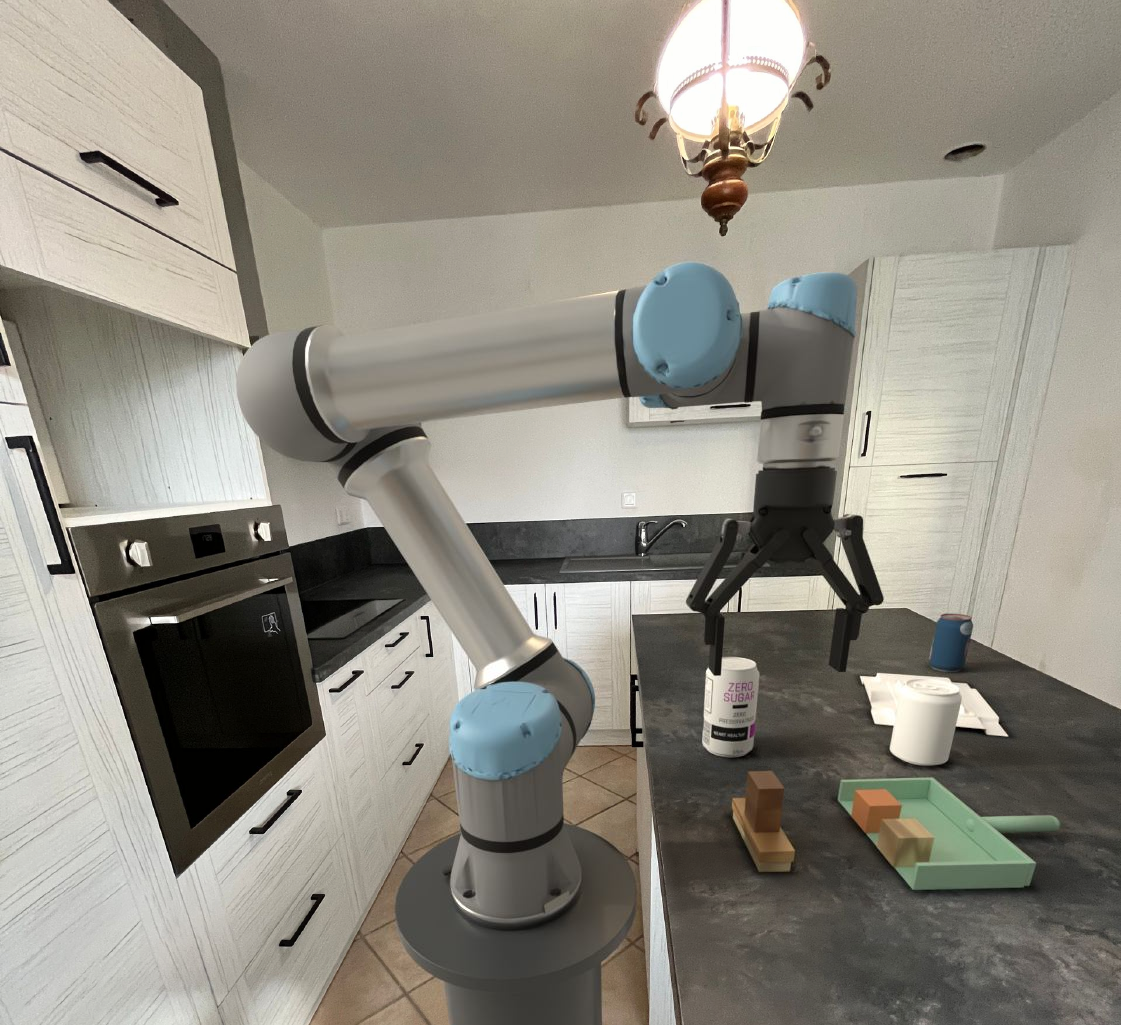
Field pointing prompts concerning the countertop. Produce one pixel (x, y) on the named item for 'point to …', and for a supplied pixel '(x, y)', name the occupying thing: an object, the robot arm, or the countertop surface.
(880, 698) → the tray
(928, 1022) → the countertop surface
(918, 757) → the beverage can
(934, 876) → the dustpan
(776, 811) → the brush
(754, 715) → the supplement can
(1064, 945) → the countertop surface
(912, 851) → the chunk
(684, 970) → the countertop surface
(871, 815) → the chunk
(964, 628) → the soda can
